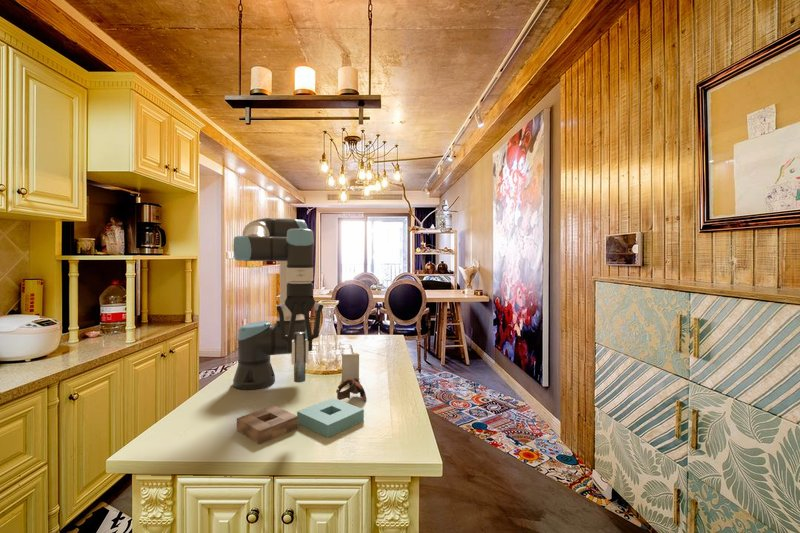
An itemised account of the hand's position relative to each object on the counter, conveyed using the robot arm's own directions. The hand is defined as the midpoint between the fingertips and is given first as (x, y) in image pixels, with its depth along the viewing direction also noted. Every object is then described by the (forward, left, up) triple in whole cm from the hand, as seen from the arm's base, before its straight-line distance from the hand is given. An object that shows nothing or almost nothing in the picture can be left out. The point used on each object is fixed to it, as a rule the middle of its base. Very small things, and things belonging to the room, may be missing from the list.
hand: (299, 362), depth 111 cm
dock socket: (+5, +8, -19) cm, 21 cm away
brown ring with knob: (-3, +24, -19) cm, 31 cm away
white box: (-19, +39, -19) cm, 47 cm away
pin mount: (-5, -7, -19) cm, 21 cm away
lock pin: (0, 0, -5) cm, 5 cm away
